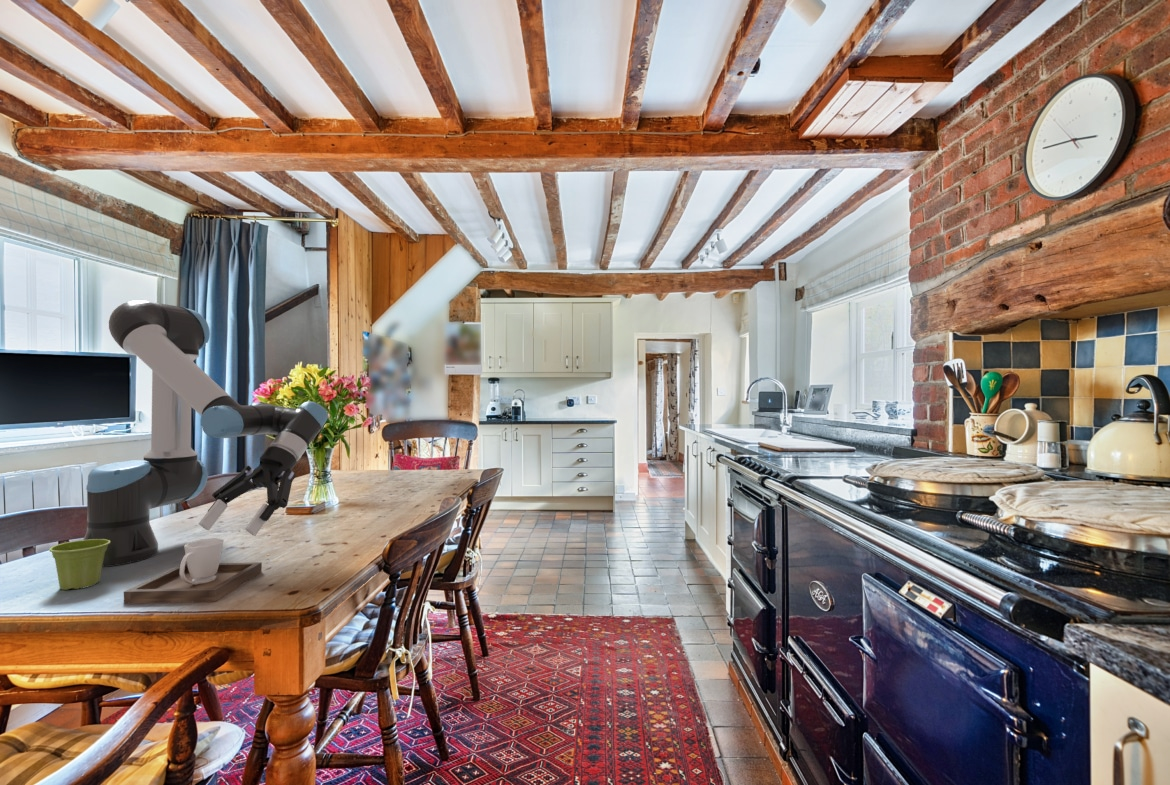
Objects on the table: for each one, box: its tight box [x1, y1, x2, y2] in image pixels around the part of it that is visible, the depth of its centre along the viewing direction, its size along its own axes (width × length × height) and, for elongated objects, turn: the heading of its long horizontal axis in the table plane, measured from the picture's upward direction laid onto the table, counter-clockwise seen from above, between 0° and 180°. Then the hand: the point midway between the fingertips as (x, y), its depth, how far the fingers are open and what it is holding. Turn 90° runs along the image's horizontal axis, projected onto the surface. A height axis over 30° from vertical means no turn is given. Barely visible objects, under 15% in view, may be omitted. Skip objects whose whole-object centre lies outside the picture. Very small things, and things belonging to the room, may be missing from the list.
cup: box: [179, 537, 225, 585], centre depth 112 cm, size 7×10×8 cm
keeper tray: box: [123, 561, 263, 605], centre depth 112 cm, size 17×17×2 cm
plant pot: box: [48, 539, 110, 591], centre depth 113 cm, size 9×9×9 cm
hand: (226, 530), depth 117 cm, fingers open, 13 cm apart
